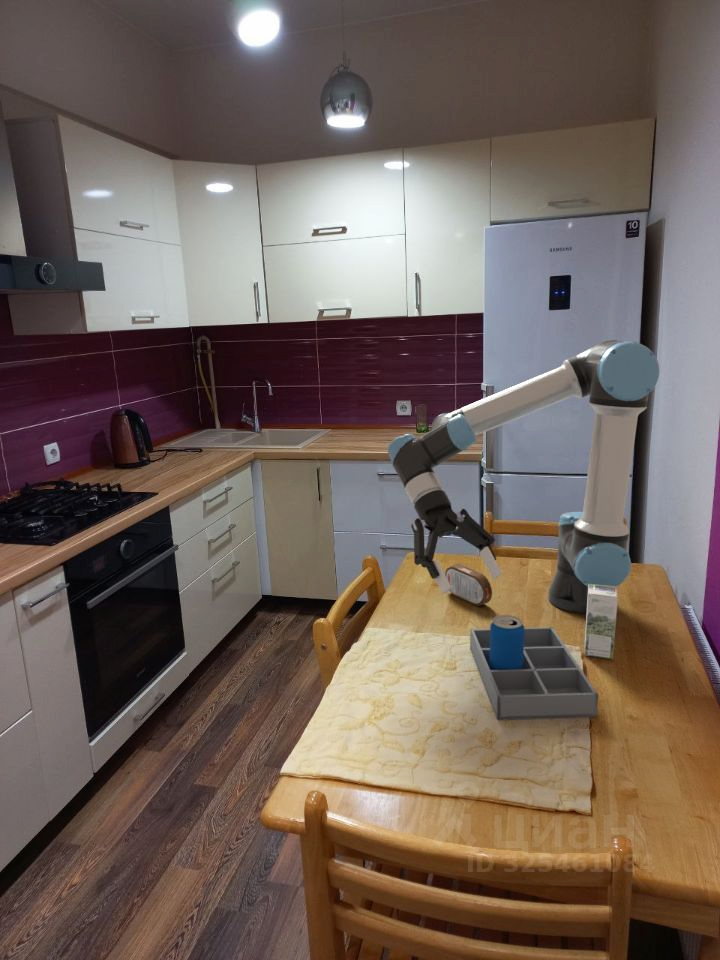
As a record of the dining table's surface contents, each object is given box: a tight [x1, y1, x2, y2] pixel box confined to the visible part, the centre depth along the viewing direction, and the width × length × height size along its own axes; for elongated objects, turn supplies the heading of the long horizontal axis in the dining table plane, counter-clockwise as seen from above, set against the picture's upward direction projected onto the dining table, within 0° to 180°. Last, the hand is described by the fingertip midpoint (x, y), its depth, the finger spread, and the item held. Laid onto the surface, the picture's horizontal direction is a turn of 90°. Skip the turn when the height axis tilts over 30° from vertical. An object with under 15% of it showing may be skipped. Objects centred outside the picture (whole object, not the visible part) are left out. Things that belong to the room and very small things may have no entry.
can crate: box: [469, 626, 599, 721], centre depth 127 cm, size 18×26×4 cm
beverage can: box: [489, 614, 525, 670], centre depth 126 cm, size 6×6×12 cm
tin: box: [444, 563, 493, 607], centre depth 164 cm, size 15×3×8 cm, turn 34°
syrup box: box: [584, 584, 619, 660], centre depth 136 cm, size 6×6×14 cm
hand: (473, 583), depth 132 cm, fingers open, 13 cm apart
